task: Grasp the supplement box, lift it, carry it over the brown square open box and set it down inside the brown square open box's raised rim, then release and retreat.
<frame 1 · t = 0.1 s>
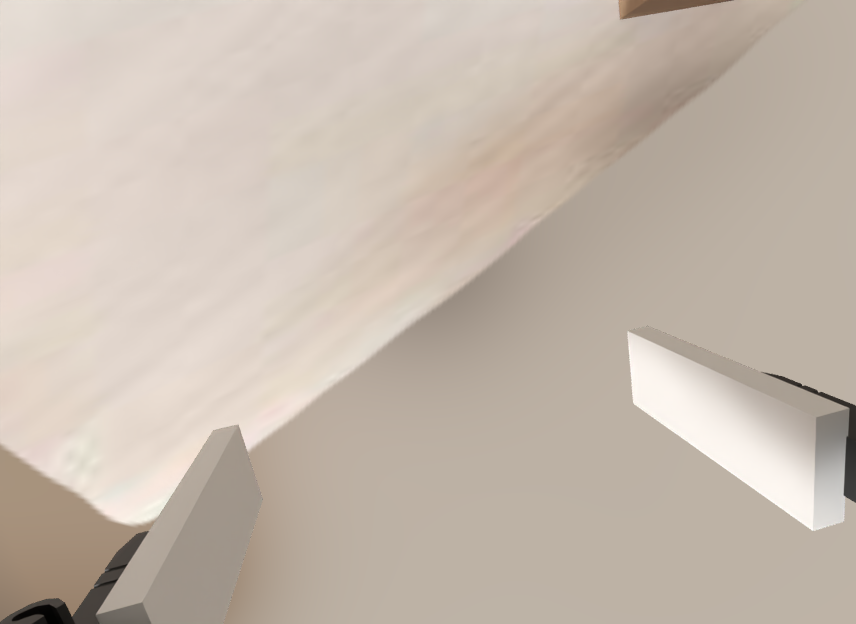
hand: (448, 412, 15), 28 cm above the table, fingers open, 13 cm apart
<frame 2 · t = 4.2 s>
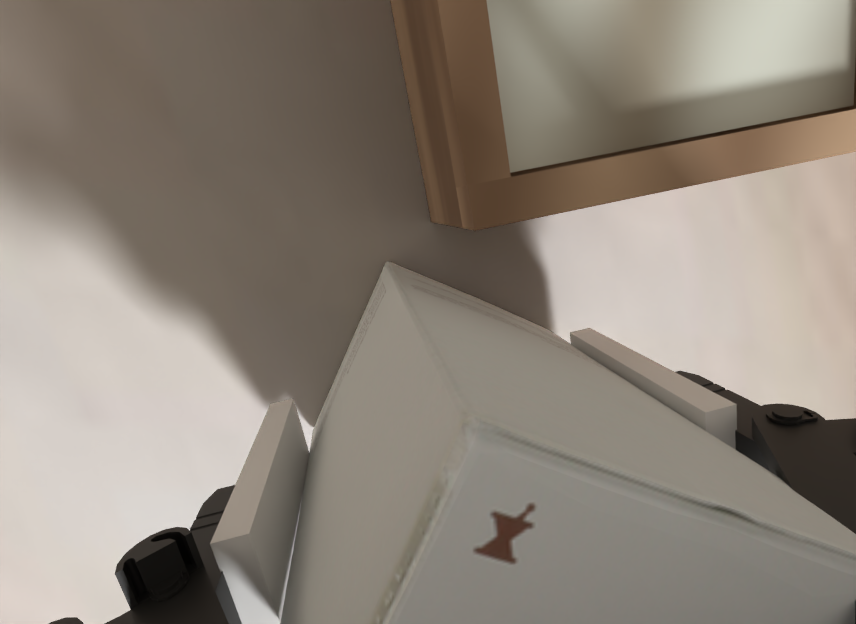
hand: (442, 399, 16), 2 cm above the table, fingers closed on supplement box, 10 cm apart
supplement box: (433, 379, 18), on the table, touching gripper
brown square open box: (570, 8, 15), on the table
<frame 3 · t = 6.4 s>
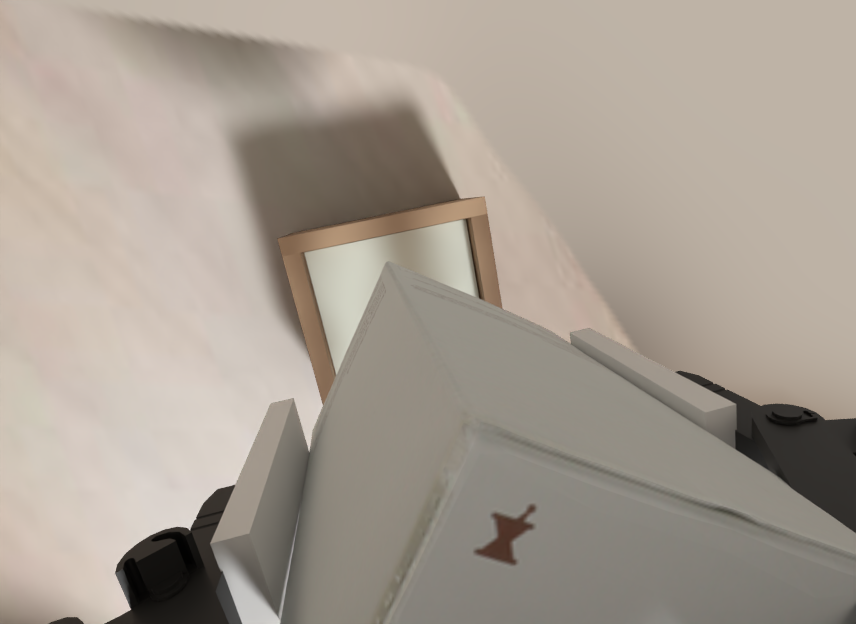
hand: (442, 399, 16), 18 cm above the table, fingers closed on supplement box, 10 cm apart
supplement box: (434, 379, 18), point 16 cm above the table, touching gripper
brown square open box: (395, 298, 33), on the table
when the fingers open (8 cm above the table, at t = 9.0 s): supplement box drops 1 cm, resting on brown square open box.
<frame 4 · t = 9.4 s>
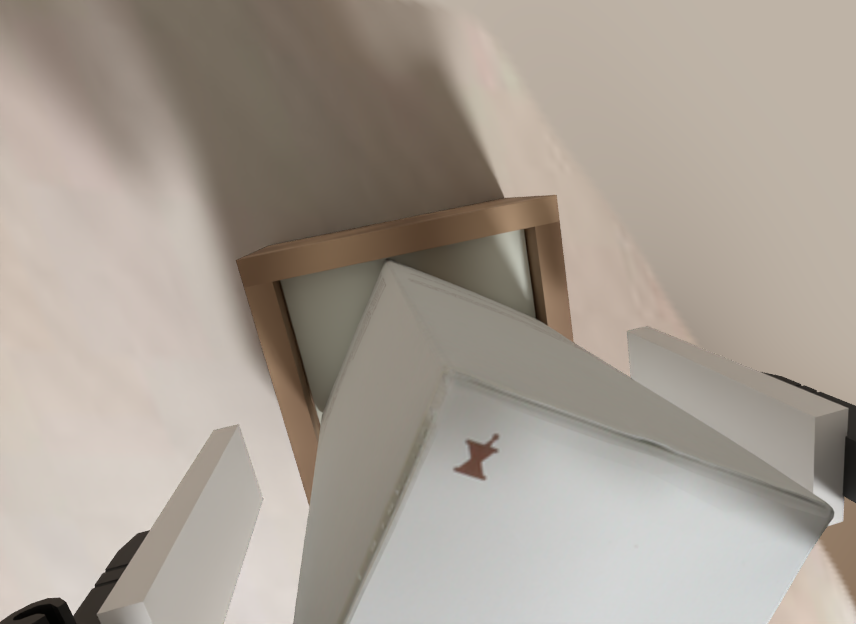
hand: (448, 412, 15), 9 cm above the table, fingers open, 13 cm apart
supplement box: (432, 367, 19), point 5 cm above the table, touching brown square open box
brown square open box: (413, 334, 24), on the table
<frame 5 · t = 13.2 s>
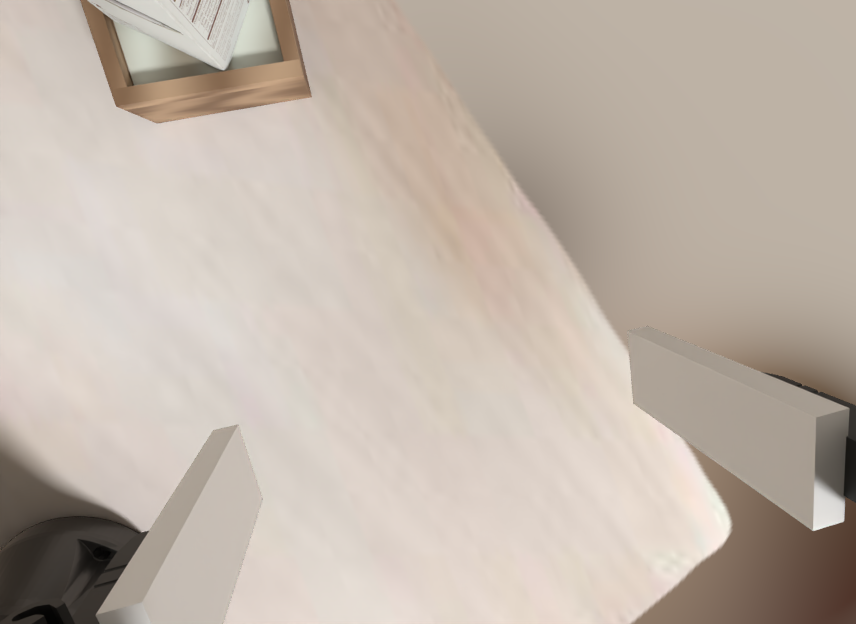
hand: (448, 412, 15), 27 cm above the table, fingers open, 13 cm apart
brown square open box: (212, 25, 34), on the table
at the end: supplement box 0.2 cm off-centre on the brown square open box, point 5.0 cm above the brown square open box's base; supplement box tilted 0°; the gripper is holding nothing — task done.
